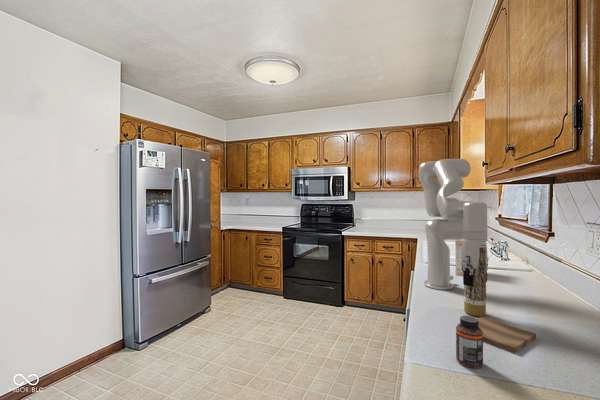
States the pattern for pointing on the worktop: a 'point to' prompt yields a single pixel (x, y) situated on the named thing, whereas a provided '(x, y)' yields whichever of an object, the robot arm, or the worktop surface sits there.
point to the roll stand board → (505, 335)
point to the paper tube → (477, 288)
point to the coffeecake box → (458, 256)
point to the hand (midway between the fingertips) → (475, 283)
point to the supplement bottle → (469, 342)
